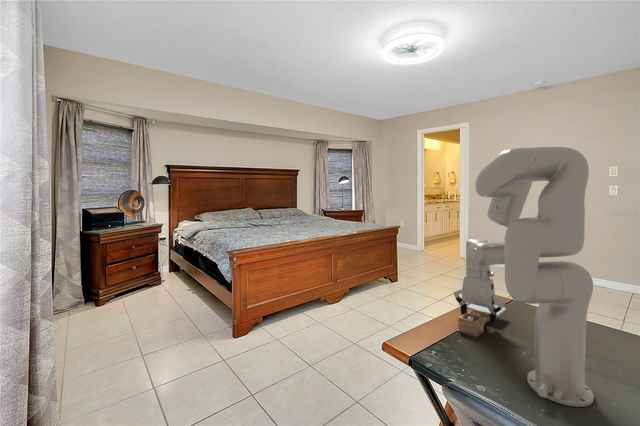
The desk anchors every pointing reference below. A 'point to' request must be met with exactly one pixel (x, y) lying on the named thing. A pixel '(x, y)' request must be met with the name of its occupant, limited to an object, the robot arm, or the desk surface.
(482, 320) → the link
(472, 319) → the pintle
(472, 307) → the plate
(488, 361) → the desk surface
